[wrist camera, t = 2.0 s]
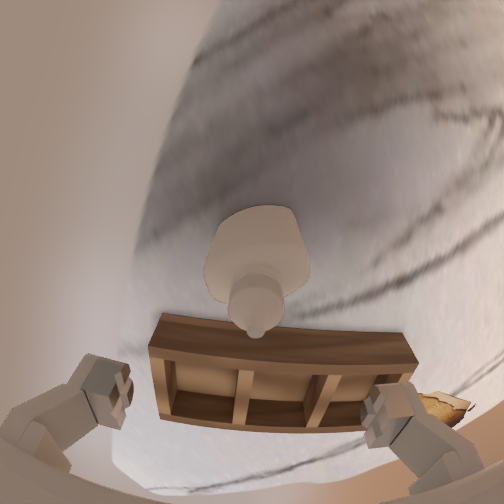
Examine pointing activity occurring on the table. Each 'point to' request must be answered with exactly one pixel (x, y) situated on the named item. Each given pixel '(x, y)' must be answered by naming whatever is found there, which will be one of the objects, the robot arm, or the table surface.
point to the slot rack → (271, 375)
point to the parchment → (445, 407)
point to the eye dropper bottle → (257, 266)
